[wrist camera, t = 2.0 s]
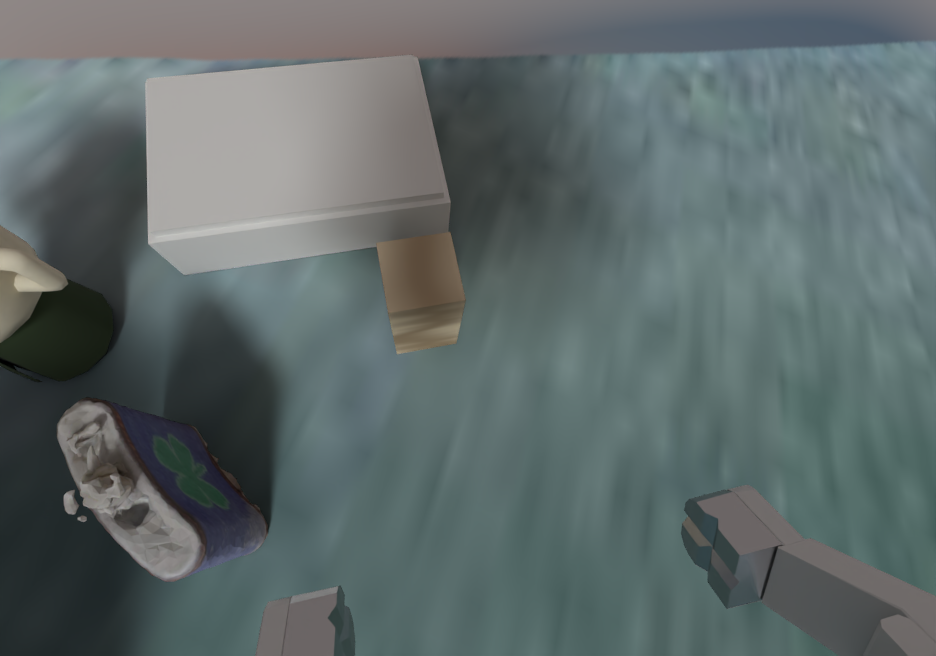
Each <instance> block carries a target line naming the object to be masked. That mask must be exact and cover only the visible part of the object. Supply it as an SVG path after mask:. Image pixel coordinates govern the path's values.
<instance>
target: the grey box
mask: <svg viewBox="0 0 936 656" xmlns="http://www.w3.org/2000/svg"><path fill="white" fill-rule="evenodd" d="M145 85H146V144H147V203H148V244H149V245H150V246H151V247H152V248H153V249H155V250H156V251H157V252H158V253H159V254H160V255H162V256H163V257H164V258H165V259H166V260H167V261H168V262H170V263H171V264H172V265H173V266H174V267H175V268H177V269H178V270H179V271H180V272H181V273H182V274H183V275H189V274H196V273H202V272H209V271H216V270H223V269H230V268H236V267H243V266H250V265H257V264H264V263H270V262H277V261H284V260H291V259H297V258H304V257H311V256H318V255H325V254H331V253H338V252H345V251H352V250H359V249H365V248H372V247H377V245H376V243H378V242H385V241H392V240H399V239H406V238H412V237H419V236H426V235H433V234H440V233H446V232H448V228H449V217H450V206H451V201H450V197H449V192H448V188H447V183H446V179H445V175H444V170H443V166H442V162H441V157H440V153H439V149H438V144H437V140H436V135H435V131H434V127H433V122H432V118H431V114H430V109H429V105H428V100H427V96H426V92H425V87H424V83H423V79H422V74H421V70H420V66H419V61H418V57H413V55H402V56H391V57H380V58H369V59H358V60H347V61H336V62H325V63H314V64H303V65H292V66H280V67H269V68H258V69H247V70H236V71H225V72H214V73H203V74H192V75H181V76H170V77H159V78H148V79H147V82H145Z"/></svg>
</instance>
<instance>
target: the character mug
mask: <svg viewBox="0 0 936 656" xmlns="http://www.w3.org/2000/svg"><path fill="white" fill-rule="evenodd" d="M112 333H113V316H112V309H111V307H110V306H109V304H108V303H107V301H106V300H105V298H104V297H103V295H102V294H100V293H98V292H95V291H93V290H91V289H89V288H86V287H84V286H82V285H80V284H77V283H75V282H73V281H71V280H68V279H66V277H65V275H64V274H63V273H62V272H60V271H59V270H57V269H55V268H54V267H52V266H50V265H48V264H47V263H45V262H43V261H42V260H40V259H38V257H37V255H36V252H35V250H34V249H33V248H32V247H31V246H30V245H29V244H28V243H27V242H25V241H24V240H22V239H21V238H19V237H18V236H16V235H15V234H13V233H12V232H10V231H8V230H7V229H5V228H4V227H2V226H0V366H1V367H3V368H5V369H7V370H9V371H11V372H14V373H16V374H19V375H21V376H23V377H26V378H28V379H31V380H33V381H36V382H42V381H40V380H38V379H35V378H33V377H30V376H28V375H25V374H23V373H20V372H18V371H17V370H16V369H15V367H14V366H16V367H19V368H22V369H26V370H30V371H33V372H36V373H38V374H41V375H44V376H46V377H49V378H51V379H54V380H57V381H66V380H69V379H71V378H73V377H75V376H77V375H80V374H82V373H84V372H86V371H88V370H89V369H90V368H91V367H92V366H93V365H94V364H96V363H97V362H98V361H99V360H100V359H101V358H102V357H103V356H104V355H105V354H106V353H107V349H108V346H109V343H110V340H111V337H112Z"/></svg>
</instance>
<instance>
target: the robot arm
mask: <svg viewBox="0 0 936 656" xmlns="http://www.w3.org/2000/svg"><path fill="white" fill-rule="evenodd" d="M684 511H685V512H686V514H687V515H688V517H687V518H686V520H685V521H684V522H683V523H682V530H681V535H682V539H683V543H684V546H685V548H686V550H687V552H688V554H689V556H690V557H691V559H692V560H693V562H694V563H695V565H697V566H699V567H701V568H702V569H704V570H706V571H708V583H709V585H710V586H711V587H712V589H713V590H714V592H715V593H716V594H717V596H718V597H719V599H720V600H721V602H722V603H723V604H724V606H725V607H726V609H728V608H732V607H736V606H740V605H745V604H749V603H753V602H757V601H761V600H762V603H763V604H765V605H766V606H767V607H769V608H770V609H772V610H773V611H775V612H776V613H778V614H779V615H781V616H782V617H783V618H785V619H786V620H788V621H789V622H791V623H792V624H794V625H795V626H797V627H798V628H800V629H801V630H802V631H804V632H805V633H807V634H808V635H810V636H811V637H813V638H814V639H816V640H817V641H818V642H820V643H821V644H823V645H824V646H826V647H827V648H829V649H830V650H832V651H833V652H834V653H836V654H837V655H839V656H936V596H934V595H932V594H930V593H928V592H925V591H923V590H921V589H919V588H917V587H915V586H912V585H910V584H908V583H906V582H904V581H902V580H900V579H897V578H895V577H893V576H891V575H889V574H887V573H885V572H882V571H880V570H878V569H876V568H874V567H872V566H870V565H867V564H865V563H863V562H861V561H859V560H857V559H854V558H852V557H850V556H848V555H846V554H844V553H842V552H839V551H837V550H835V549H833V548H831V547H829V546H827V545H824V544H822V543H820V542H818V541H816V540H814V539H812V538H810V539H804V538H803V537H802V536H801V535H800V534H799V533H798V532H797V531H796V530H795V529H794V528H793V527H792V526H791V525H790V524H789V523H788V522H787V521H786V520H785V519H784V518H783V517H782V516H781V515H780V514H779V513H778V512H777V511H776V510H775V509H774V508H773V507H772V506H771V505H770V504H769V503H768V502H767V501H766V500H765V499H764V498H763V497H762V496H761V495H760V494H759V493H758V492H757V491H756V490H755V489H754V488H753V487H751V486H749V485H743V486H739V487H736V488H732V489H728V490H721V491H717V492H714V493H710V494H706V495H702V496H699V497H695V498H691V499H689V500H688V501H687V502H686V503H685V508H684ZM344 600H345V595H344V592H343V590H342V587H341V586H336V587H332V588H327V589H323V590H318V591H314V592H310V593H305V594H301V595H296V596H291V597H287V598H283V599H279V600H275V601H270V602H268V603H267V605H266V607H265V610H264V612H263V617H262V623H261V628H260V633H259V639H258V644H257V649H256V654H255V656H355V635H354V624H353V619H352V615H351V612H350V609H349V607H347V606H345V605H344Z"/></svg>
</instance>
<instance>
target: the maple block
mask: <svg viewBox="0 0 936 656" xmlns="http://www.w3.org/2000/svg"><path fill="white" fill-rule="evenodd" d="M376 245H377V251H378V257H379V263H380V269H381V274H382V280H383V286H384V292H385V298H386V303H387V309H388V315H389V319H390V324H391V328H392V333H393V337H394V342H395V346H396V351H397V354H400V353H406V352H411V351H417V350H422V349H428V348H433V347H439V346H444V345H450V344H456V343H457V338H458V333H459V329H460V324H461V320H462V315H463V310H464V306H465V301H466V299H465V295H464V290H463V286H462V281H461V277H460V272H459V268H458V263H457V259H456V255H455V250H454V246H453V241H452V237H451V232H446V233H440V234H433V235H426V236H419V237H412V238H406V239H399V240H392V241H385V242H378V243H376Z"/></svg>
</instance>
